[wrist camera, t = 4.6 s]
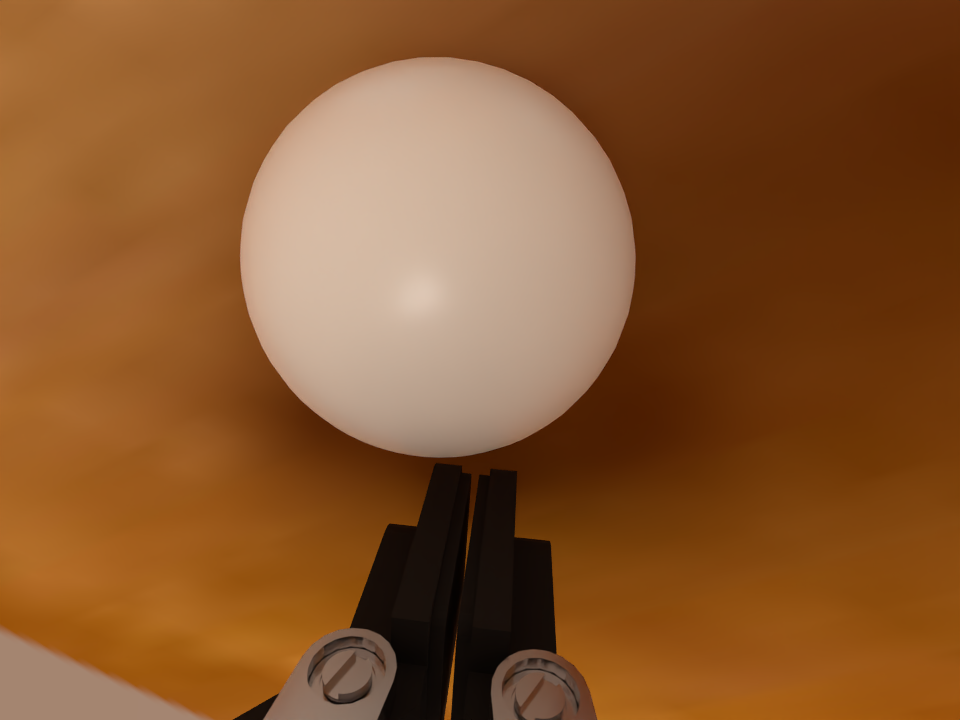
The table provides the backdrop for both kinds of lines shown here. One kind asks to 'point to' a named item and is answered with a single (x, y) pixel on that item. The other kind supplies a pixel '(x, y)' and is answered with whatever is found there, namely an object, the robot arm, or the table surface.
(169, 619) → the table surface
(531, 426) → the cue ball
